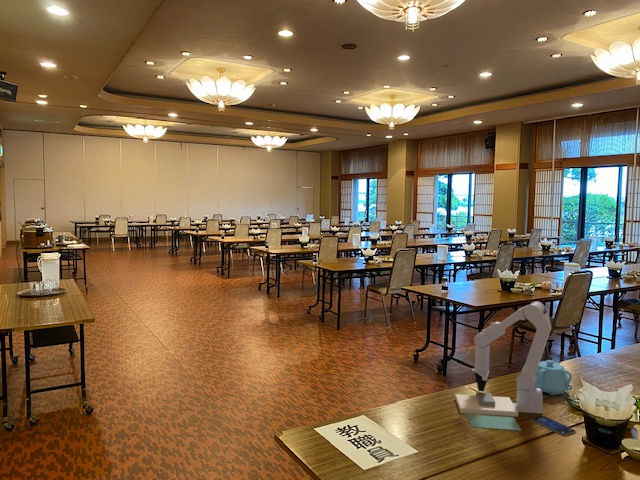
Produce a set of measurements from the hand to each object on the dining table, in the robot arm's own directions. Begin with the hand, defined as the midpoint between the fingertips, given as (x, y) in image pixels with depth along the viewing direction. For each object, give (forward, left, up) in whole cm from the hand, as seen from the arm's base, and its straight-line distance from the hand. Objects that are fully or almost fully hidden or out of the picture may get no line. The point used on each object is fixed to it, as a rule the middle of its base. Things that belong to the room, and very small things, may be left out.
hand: (480, 390), depth 208 cm
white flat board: (0, +10, -3) cm, 10 cm away
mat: (0, +23, -3) cm, 24 cm away
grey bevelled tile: (0, +9, -1) cm, 9 cm away
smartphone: (-22, +23, -4) cm, 32 cm away
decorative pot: (-32, -13, -3) cm, 35 cm away
